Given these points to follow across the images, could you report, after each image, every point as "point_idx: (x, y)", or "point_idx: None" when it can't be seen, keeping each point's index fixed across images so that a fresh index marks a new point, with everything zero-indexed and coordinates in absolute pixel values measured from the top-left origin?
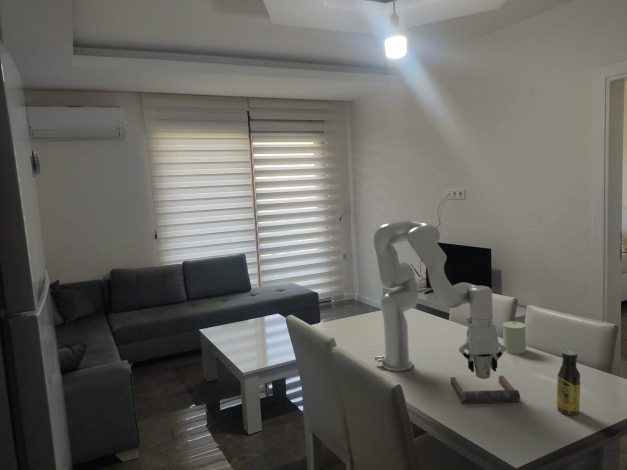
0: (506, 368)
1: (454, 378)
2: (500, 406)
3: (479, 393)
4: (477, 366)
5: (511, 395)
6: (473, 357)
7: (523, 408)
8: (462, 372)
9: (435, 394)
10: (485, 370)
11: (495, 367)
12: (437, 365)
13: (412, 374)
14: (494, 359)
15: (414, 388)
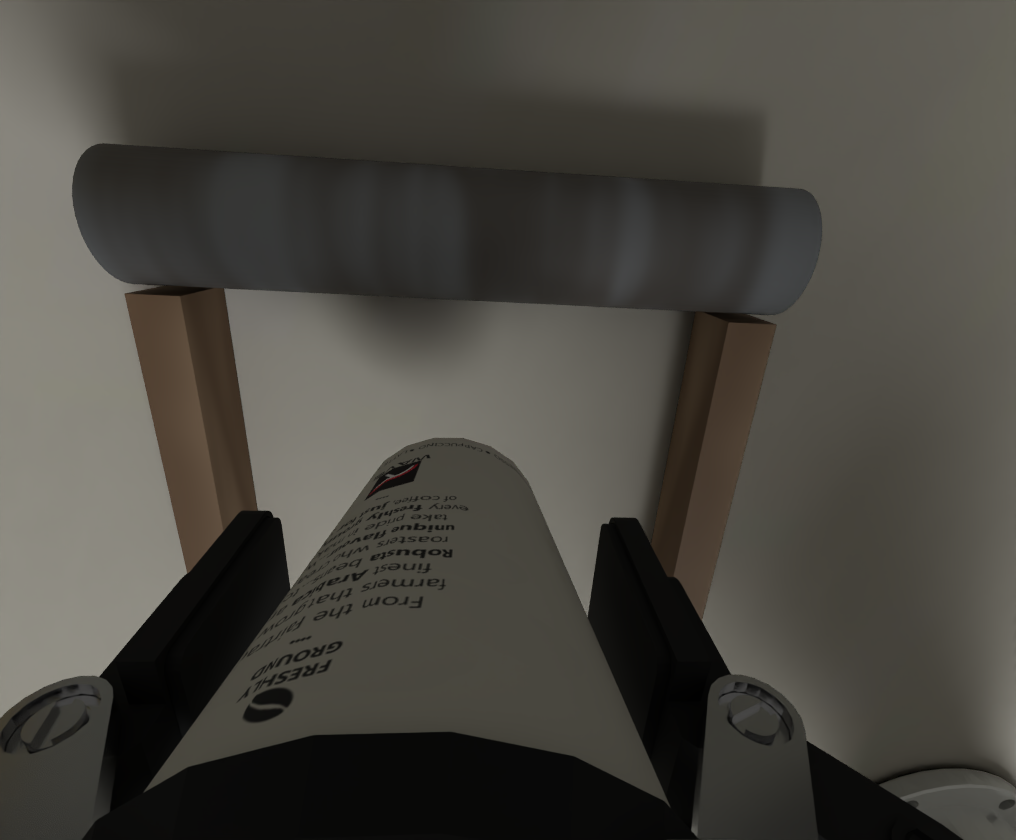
0: None
1: None
2: (387, 102)
3: (599, 209)
4: (564, 576)
5: (199, 157)
6: (704, 775)
7: (137, 13)
8: None
9: (895, 423)
10: (433, 489)
11: (219, 548)
12: None
13: (883, 728)
14: (136, 713)
15: (999, 536)
